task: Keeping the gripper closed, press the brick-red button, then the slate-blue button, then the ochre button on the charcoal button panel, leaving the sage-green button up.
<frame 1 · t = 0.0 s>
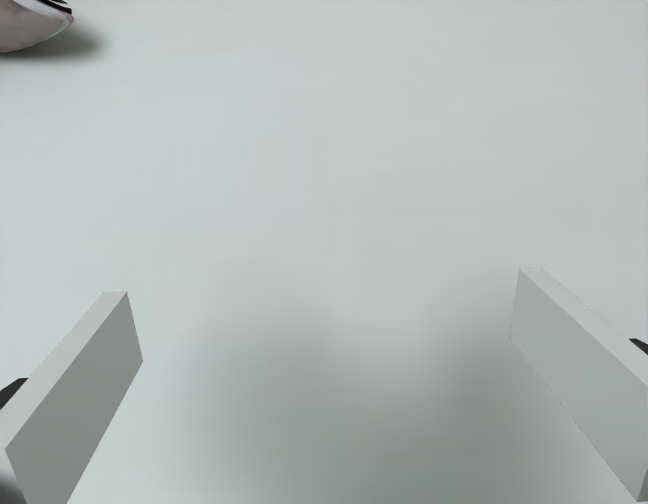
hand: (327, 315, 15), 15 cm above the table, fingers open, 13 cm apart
decorative duck model: (20, 13, 36), on the table
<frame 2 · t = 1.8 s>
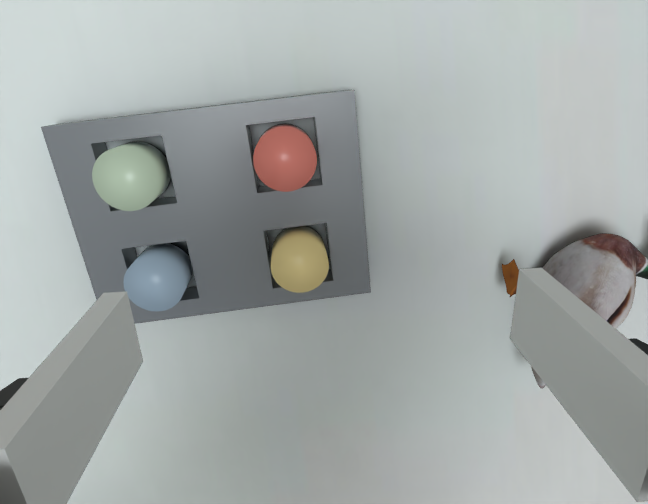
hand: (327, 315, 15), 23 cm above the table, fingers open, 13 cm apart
decorative duck model: (568, 290, 42), on the table
red button: (285, 156, 33), point 3 cm above the table, slide at 0.0 cm
slate button: (159, 276, 35), point 3 cm above the table, slide at 0.0 cm
sage button: (133, 175, 32), point 3 cm above the table, slide at 0.0 cm
button panel: (225, 208, 37), on the table
ochre button: (299, 258, 36), point 3 cm above the table, slide at 0.0 cm
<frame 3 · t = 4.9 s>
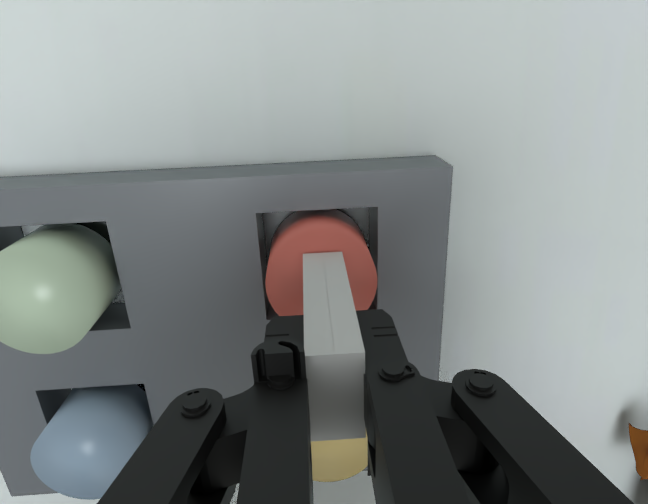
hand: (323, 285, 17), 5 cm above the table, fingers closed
red button: (319, 267, 19), point 3 cm above the table, slide at 0.3 cm, touching gripper
slate button: (98, 435, 22), point 3 cm above the table, slide at 0.0 cm
sage button: (53, 285, 19), point 3 cm above the table, slide at 0.0 cm
button panel: (213, 324, 23), on the table
ochre button: (327, 419, 22), point 3 cm above the table, slide at 0.0 cm
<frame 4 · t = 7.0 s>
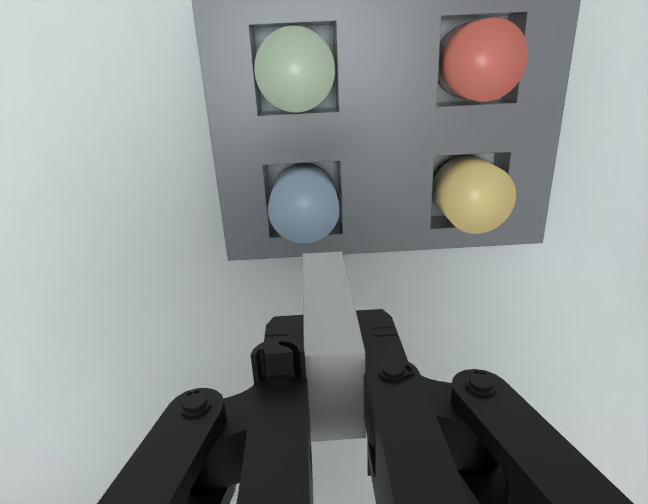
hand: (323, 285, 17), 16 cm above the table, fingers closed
red button: (478, 60, 27), point 2 cm above the table, slide at 0.7 cm
slate button: (303, 202, 29), point 3 cm above the table, slide at 0.0 cm
sage button: (295, 70, 26), point 3 cm above the table, slide at 0.0 cm
button panel: (381, 128, 31), on the table
ochre button: (471, 193, 29), point 3 cm above the table, slide at 0.0 cm
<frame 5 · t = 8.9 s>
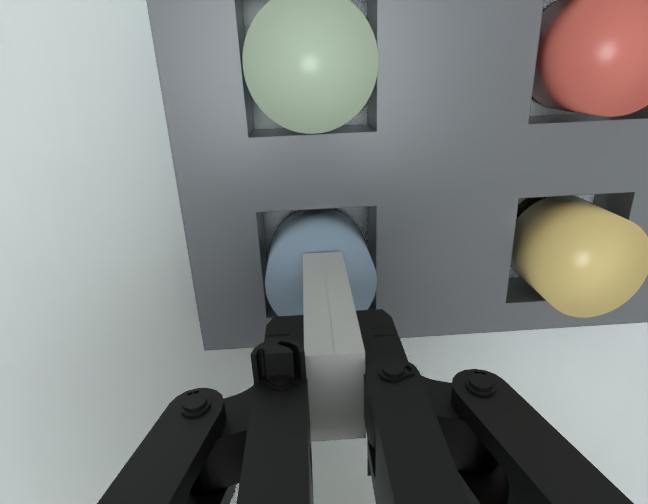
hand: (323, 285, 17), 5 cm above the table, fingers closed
red button: (597, 52, 17), point 2 cm above the table, slide at 0.7 cm
slate button: (319, 267, 19), point 3 cm above the table, slide at 0.1 cm, touching gripper
sage button: (309, 64, 16), point 3 cm above the table, slide at 0.0 cm
button panel: (433, 155, 21), on the table
ochre button: (573, 253, 19), point 3 cm above the table, slide at 0.0 cm
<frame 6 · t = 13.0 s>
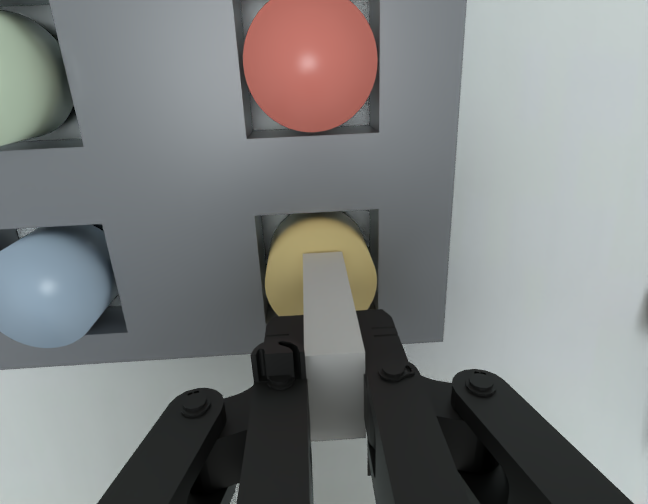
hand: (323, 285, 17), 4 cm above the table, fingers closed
red button: (309, 64, 16), point 2 cm above the table, slide at 0.7 cm
slate button: (58, 281, 19), point 2 cm above the table, slide at 0.8 cm
button panel: (187, 169, 20), on the table
ochre button: (319, 267, 19), point 2 cm above the table, slide at 0.6 cm, touching gripper
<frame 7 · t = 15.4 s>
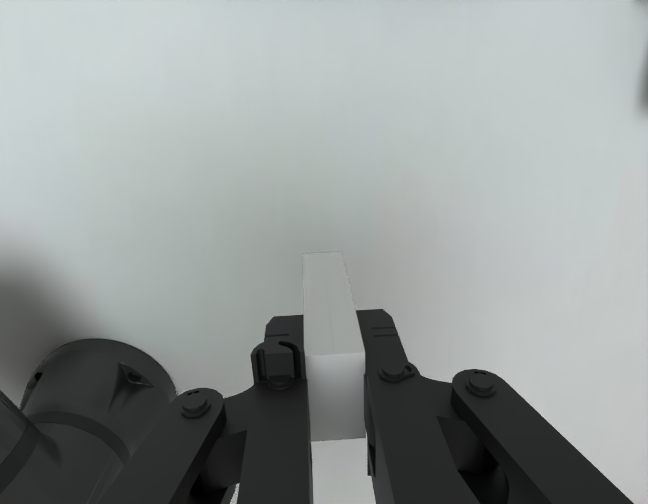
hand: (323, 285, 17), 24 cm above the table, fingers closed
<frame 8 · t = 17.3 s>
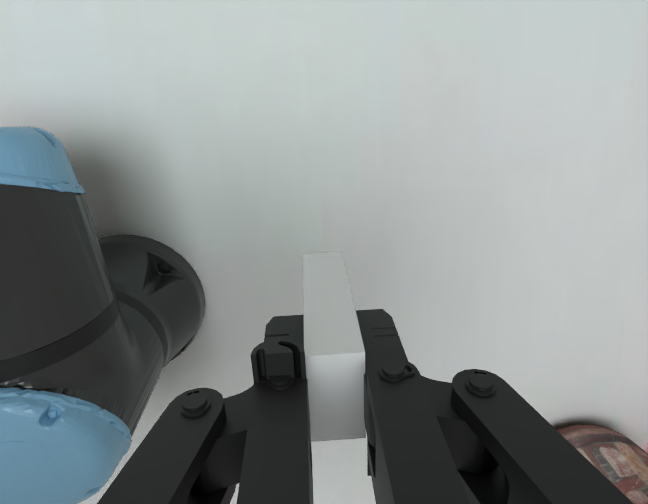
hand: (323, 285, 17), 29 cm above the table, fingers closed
pottery: (564, 454, 62), on the table
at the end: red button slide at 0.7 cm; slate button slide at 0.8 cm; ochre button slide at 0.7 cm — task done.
